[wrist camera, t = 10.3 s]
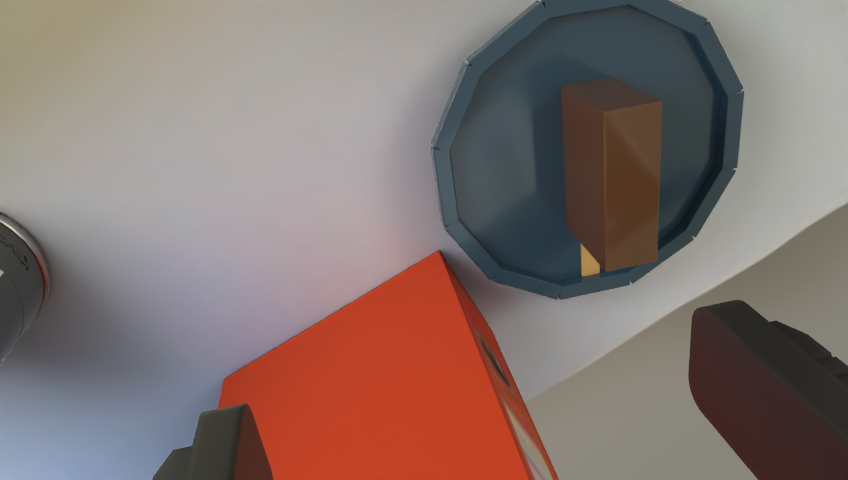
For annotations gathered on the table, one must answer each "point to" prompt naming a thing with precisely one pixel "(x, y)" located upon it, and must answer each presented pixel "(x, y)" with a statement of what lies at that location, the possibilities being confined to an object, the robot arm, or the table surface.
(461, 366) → the tall red box
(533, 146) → the plate
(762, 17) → the table surface
